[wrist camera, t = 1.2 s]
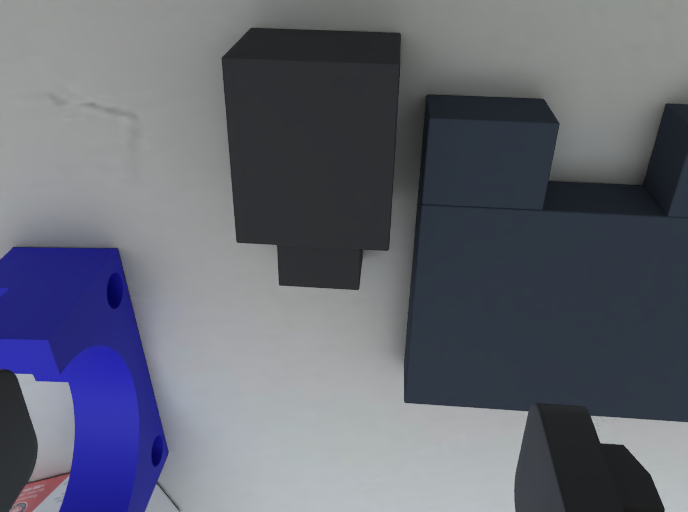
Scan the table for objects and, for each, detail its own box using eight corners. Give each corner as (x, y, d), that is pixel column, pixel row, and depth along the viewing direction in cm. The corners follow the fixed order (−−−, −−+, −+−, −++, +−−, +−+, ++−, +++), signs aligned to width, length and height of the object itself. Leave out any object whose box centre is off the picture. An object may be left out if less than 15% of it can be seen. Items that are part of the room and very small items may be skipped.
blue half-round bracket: (13, 247, 27) (-81, 336, 21) (117, 248, 26) (47, 339, 21) (83, 449, 33) (23, 556, 28) (168, 453, 32) (124, 562, 27)
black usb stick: (250, 27, 21) (221, 56, 18) (400, 32, 21) (400, 63, 18) (263, 254, 26) (242, 312, 22) (387, 261, 25) (384, 321, 22)
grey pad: (426, 94, 22) (428, 117, 20) (789, 108, 21) (832, 134, 19) (404, 363, 28) (404, 403, 26) (684, 381, 27) (708, 424, 25)
